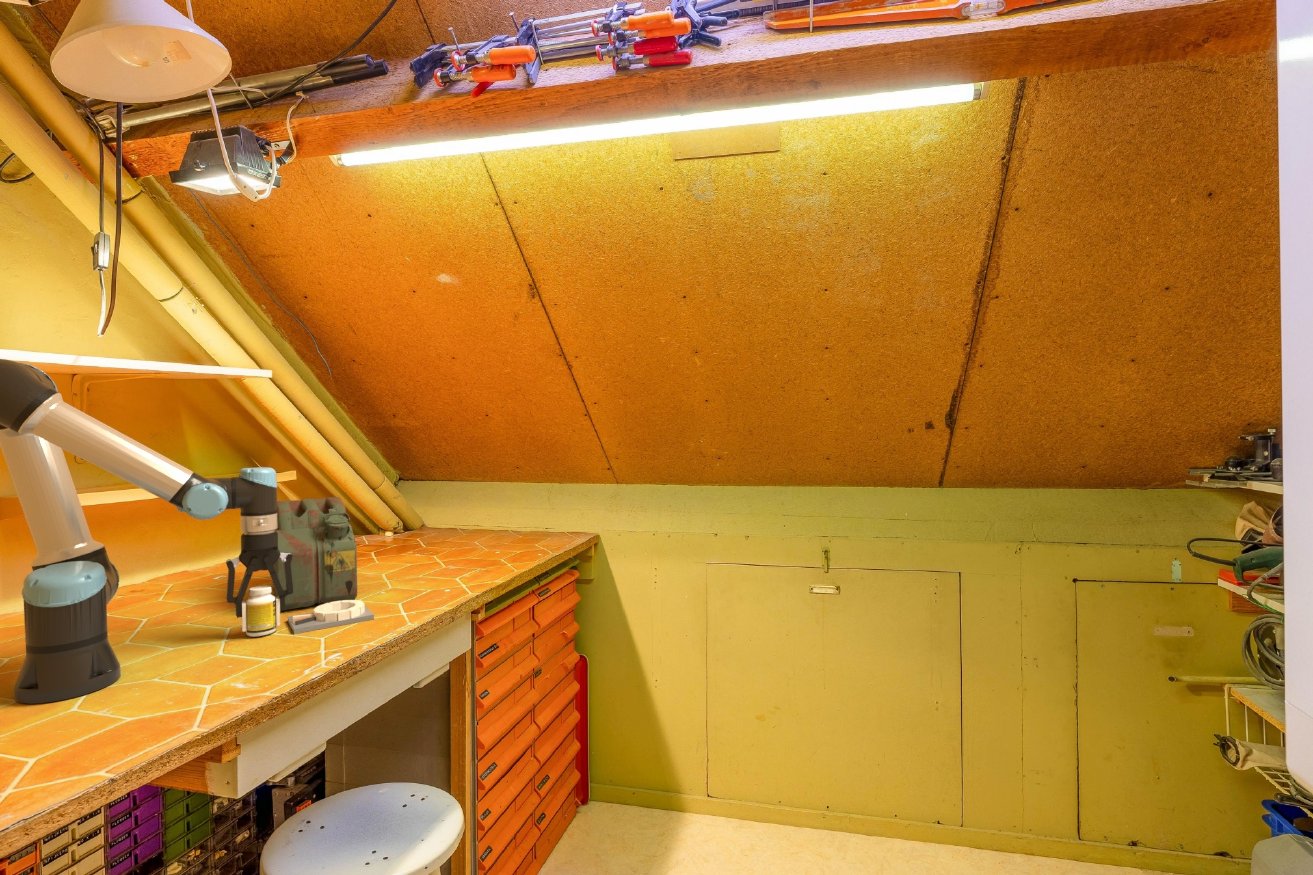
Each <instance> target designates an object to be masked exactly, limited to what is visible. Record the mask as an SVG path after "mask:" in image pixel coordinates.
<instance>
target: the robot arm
mask: <svg viewBox="0 0 1313 875" xmlns="http://www.w3.org/2000/svg"><path fill="white" fill-rule="evenodd" d="M55 383H56V382H54V380H53V379H52V378H51V376H49V375H48V374H47V373H46V372H45V371H43V370H41V369H40V368H38V367H35V366H33V365H31V364H27V363H23V362H17V361H14V360H11V359H5V358H0V449H1V452H2V455H3V457H4V458H3V459H4V460H5V464H6V466H7V469H8V472H9V475H10V477H11V480H12V484H13V485H14V486H13V487H14V489H15V492H16V495H17V499H18V501H19V503H20V506H21V510H22V512H23V515H24V518H25V520H26V523H27V526H28V529H29V532H30V534H31V537H32V539H33V543H34V546H35V549H36V552H37V554H36V557H35V558H34V560H33V561H32V562H31V563H30V566H31V570H32V572H30V573H29V574H27V575H26V576H25V578H24V580H23V586H22V587H23V588H22V590H21V595H22V599H23V615H24V616H23V618H24V635H25V636H24V637H25V638H24V639H25V657H24V660H23V663H22V666H21V668H20V671H19V673H18V676H17V679H16V681H15V684H14V689H13V692H14V696H13V697H14V701H15V702H17V703H19V704H31V705H32V704H35V705H36V704H43V703H45V704H48V703H52V702H58V701H65V700H69V699H73V698H76V697H80V696H84V695H88V694H91V693H93V692H94V693H95V692H96V691H99V690H102V689H104V688H106V687H109V686H110V685H112V684H114V683H116V682H117V681H118V680H119V679H120V678H121V675H122V673H121V672H122V671H121V669H122V668H121V664H120V661H119V660H118V657H117V655H116V654H115V652H114V650H113V648H112V646H111V644H110V642H109V639H108V611H107V607H108V606H107V605H108V604H109V603H110V602H111V600H112V599H113V598H114V597H115V595H116V594H117V592H118V589H119V586H120V584H119V583H120V575H119V572H118V569H117V567H116V566H115V564H114V563H112V561H110V557H109V555H108V552H107V549H106V547H105V544H104V543H102V542H100V541H96V540H95V539H93V538H92V534H91V532H90V528H89V524H88V523H87V519H86V517H85V513H84V510H83V507H82V505H81V501H80V498H79V494H78V492H77V489H76V487H75V483H74V481H73V478H72V475H71V472H70V469H69V465H68V463H67V460H66V457H65V453H64V451H66V452H67V453H70V454H72V455H74V456H76V457H78V458H80V459H82V460H84V461H86V462H88V463H90V464H93V465H95V466H96V467H99V468H101V470H104V471H106V472H107V473H109V474H112V475H113V476H116V477H118V478H120V479H122V480H124V481H126V482H128V483H129V484H132V485H134V486H136V487H138V488H140V489H141V490H144V491H146V492H148V493H150V494H152V495H154V496H156V497H158V498H160V499H162V500H164V501H166V502H167V503H170V504H171V505H173V506H175V507H176V509H177V511H178V512H180V513H186V514H187V515H188V516H190V517H192V518H193V519H196V520H199V521H200V520H202V521H205V520H206V521H207V520H212V519H215V518H216V517H218V516H219V515H221V514H222V513H223V512H224V511H225V510H237V509H239V510H240V532H242V534H240V553H239V555H238V557H235V558H232V559H226V560H225V564H226V567H227V570H228V571H227V586H226V597H225V599H226V602H227V603H228V604H234V605H235V616H236V618H237V619H238V618H241V630H242V632H246V600H245V601H244V598H245V595H246V591H247V589H248V587H249V584H250V581H251V578H252V577H253V574H254V572H255V573H257V572H259V571H268V574H269V576H270V578H271V580H272V584H273V583H274V585H275V588H276V590H277V592H278V595H279V596H278V597H275V598H276V627H279V626H281V611H286V610H285V597H286V596H287V595H289V594H292V593H293V582H292V573H291V561H292V557H293V556H292V554H291V553H280V551H279V549H278V532H277V531H275V530H276V529H277V528H278V525H277V501H278V482H277V471H276V470H275V469H274V468H272V467H268V466H267V467H265V466H260V467H244V468H241V469H240V470H239V474H238V476H233V477H232V476H231V477H207V478H206V477H204V476H202V475H201V474H199V473H197V472H196V473H195V472H194V471H192V470H191V469H188V468H187V467H185V466H183V465H181V464H179V463H177V462H176V461H174V460H172V459H170V458H168V457H166V456H165V455H163V454H161V453H160V452H157V451H155V450H154V449H152V448H150V447H148V446H146V445H145V444H142V443H140V442H139V441H137V440H135V439H134V438H132V437H130V436H128V435H126V434H124V433H122V432H120V431H118V430H117V429H115V428H113V427H112V426H109V425H107V424H106V423H104V422H101V421H100V420H98V419H97V418H94V417H93V416H90V415H89V414H87V413H85V412H84V411H82V410H79V409H77V408H76V407H74V406H73V405H71V404H69V403H67V402H65V401H64V400H63V396H62V393H60V392H59V390H58V388H57V385H56V384H55ZM63 450H64V451H63ZM279 557H281V560H282V562H284V570H285V580H286V589H285V590H283V589H282V586H281V584H280V582H279V579H278V577H277V574H276V572H275V569H274V567H273V565H274V564H275V562H276V561H277V560H278V558H279ZM239 563H241V564H242V565H243V566H244V567H245V568H246V569H245V571H244V575H243V578H242V581H241V582H240V583H241V584H240V586H239V590H238V591H237V594H236V596H234V595H235V594H234V592H235V578H236V570H235V569H236V568H238V566H239Z"/></svg>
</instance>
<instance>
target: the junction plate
mask: <svg viewBox="0 0 1313 875" xmlns="http://www.w3.org/2000/svg"><path fill="white" fill-rule="evenodd" d="M374 619H375V614H374V613H373V611H371V610H370V609H369V608H368V607H367V606H366V605H365V602H363V601H362V600H356V599H353V600H342V601H335V602H330V603H326V604H324V603H321V604H319V605H317V606H316V607H314V608H313V612H308V613H302V614H295V615H291V616H287V623H288V625H289V626H290V628H291V631H292V633H293V634H294V635H297V634H301V633H308V632H312V631H319V630H323V629H328V628H334V627H340V626H344V625H345V626H346V625H350V624H357V623H361V622H366V621H371V620H374Z"/></svg>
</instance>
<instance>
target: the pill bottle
mask: <svg viewBox="0 0 1313 875" xmlns="http://www.w3.org/2000/svg"><path fill="white" fill-rule="evenodd" d="M272 592H273V585H270V584H269V585H268V584H262V585H255V586H253V587H250V588H248V595H249V597H247V598H246V599H245V603H246V631H245V633H246V635H247V636H248V637H252V638H253V637H261V636H262V637H263V636H267V635H271V634H273V633H274V632H276V630H277V626H276V598H275V594H272Z"/></svg>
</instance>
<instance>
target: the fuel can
mask: <svg viewBox="0 0 1313 875" xmlns="http://www.w3.org/2000/svg"><path fill="white" fill-rule="evenodd" d="M351 520H352V519H351V518H350V515H349V514H348V513H347V510H346V506H345V505H344V503H343V502H342V498H340V497H339V496H338V497H337V496H333V497H332V496H330V497H325V498H324V497H322V498H304V499H301V500H299V499H297V500H293V499H292V500H277V525H278V528H277V529H276V530H275V531H277V532H278V549H279V551H280V553H291V554H292V556H293V557H292V561H291V573H292V582H293V593H292V594H289V595H287V596H286V597H285V610H284V611H287V610H294V609H301V608H306V607H308V608H309V607H312V606H314V605H315V604H317V606H319V605H320V603H321V604H326V603H330V602H335V601H342V600H356V598H357V596H358V562H357V561H358V559H357V558H358V557H357V556H358V555H357V554H358V553H357V552H358V551H357V542H356V538H355V535H354V532H353V527H352V525H351V524H350V522H351ZM273 567H274V569H275V572H276V574H277V577H278V579H279V582H280V584H281V586H282V589H283V590H285V589H286V580H285V570H284V562H282V560H281V557H279V558H278V560H277V561H276V562H275V564H274V565H273ZM272 590H273V593H274V594H273V595H274V596H275V597H278V596H279V595H278V592H277V590H276V588H275V585H274V583H273V582H272Z"/></svg>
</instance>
